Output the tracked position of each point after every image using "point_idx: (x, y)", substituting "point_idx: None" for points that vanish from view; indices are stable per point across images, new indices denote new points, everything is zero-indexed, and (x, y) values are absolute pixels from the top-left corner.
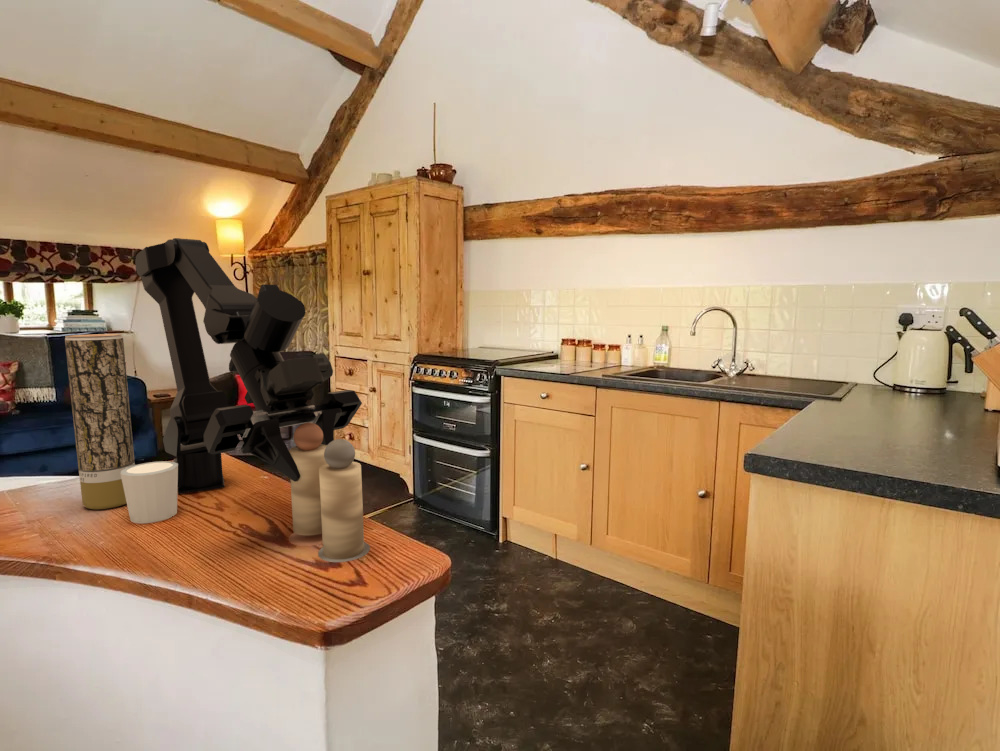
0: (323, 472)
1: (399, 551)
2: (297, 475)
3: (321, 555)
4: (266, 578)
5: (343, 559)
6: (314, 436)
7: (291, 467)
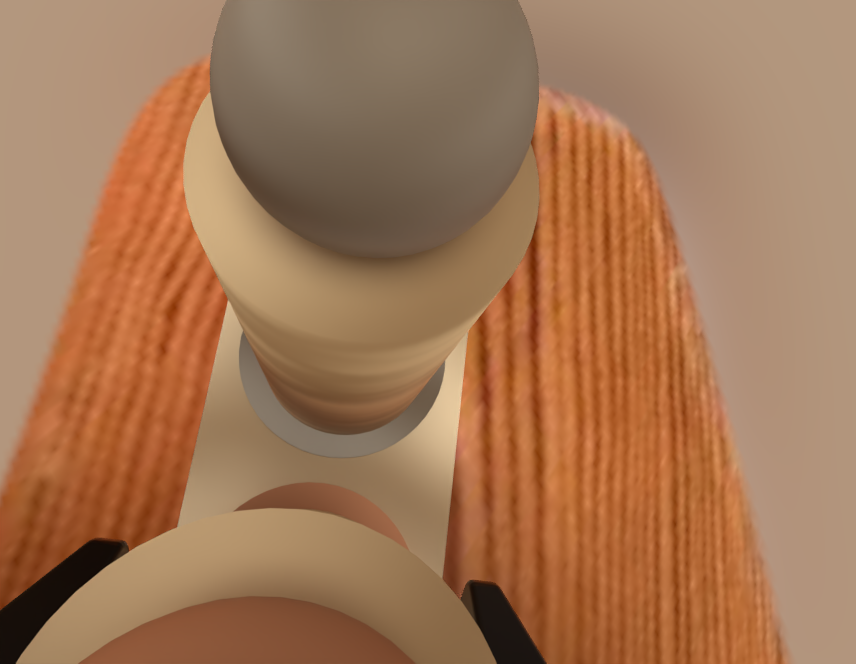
0: (538, 189)
1: (186, 228)
2: (494, 589)
3: (427, 393)
4: (600, 481)
5: None
6: (302, 621)
7: (540, 658)
